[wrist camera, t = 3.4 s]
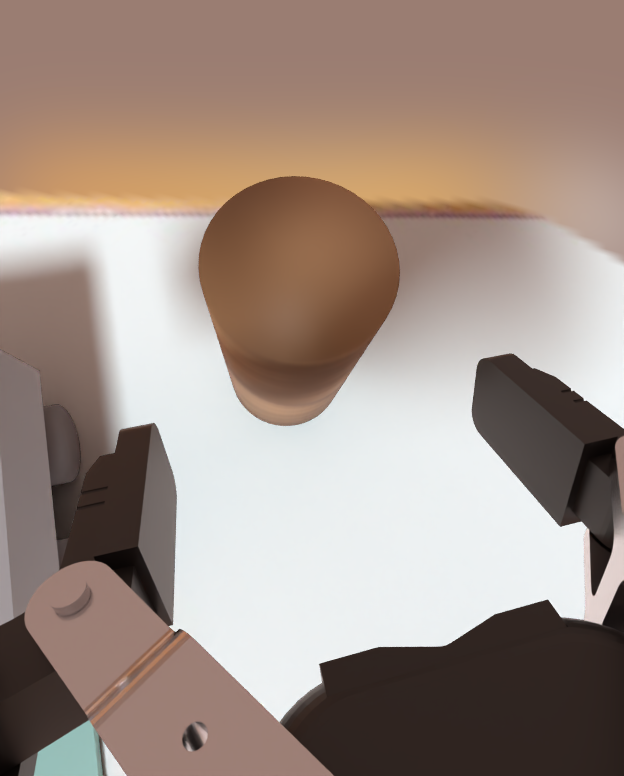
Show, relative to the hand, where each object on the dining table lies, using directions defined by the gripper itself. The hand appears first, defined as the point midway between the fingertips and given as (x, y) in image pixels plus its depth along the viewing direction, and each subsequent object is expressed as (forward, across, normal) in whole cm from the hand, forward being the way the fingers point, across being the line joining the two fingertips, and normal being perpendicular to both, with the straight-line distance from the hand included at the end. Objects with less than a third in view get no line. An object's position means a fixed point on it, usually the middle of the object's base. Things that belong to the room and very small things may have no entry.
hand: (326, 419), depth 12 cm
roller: (+9, 0, +4) cm, 10 cm away
